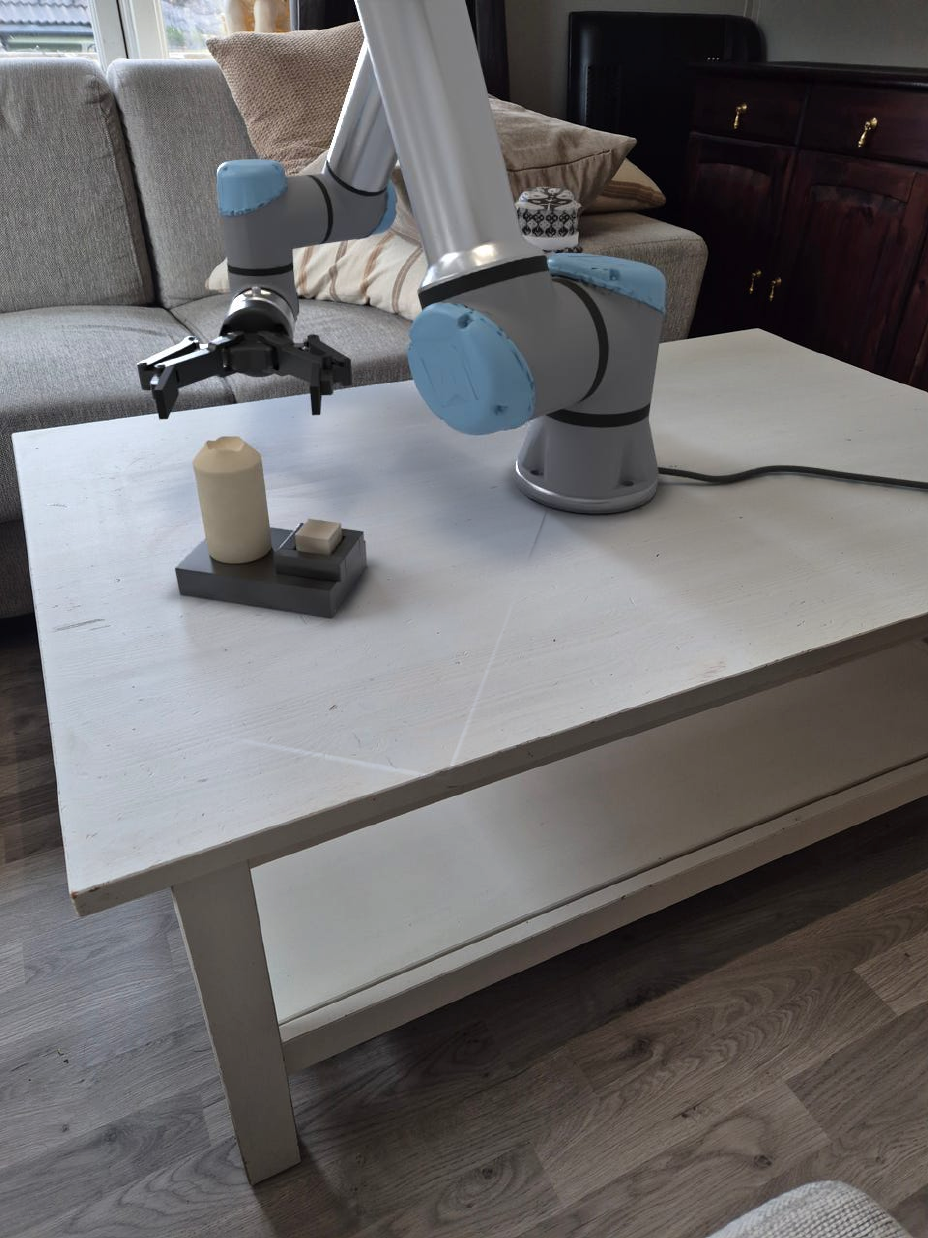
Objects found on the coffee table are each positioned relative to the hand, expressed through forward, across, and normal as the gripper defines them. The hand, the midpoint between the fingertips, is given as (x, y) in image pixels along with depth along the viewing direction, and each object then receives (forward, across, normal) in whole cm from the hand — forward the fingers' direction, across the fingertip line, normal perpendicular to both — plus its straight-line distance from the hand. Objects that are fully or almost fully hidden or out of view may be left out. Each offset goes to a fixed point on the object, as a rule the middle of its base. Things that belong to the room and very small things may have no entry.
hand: (238, 402), depth 80 cm
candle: (+9, 0, +10) cm, 13 cm away
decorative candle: (-35, +34, +13) cm, 50 cm away
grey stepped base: (+10, +3, +13) cm, 16 cm away
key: (+11, +7, +9) cm, 16 cm away
